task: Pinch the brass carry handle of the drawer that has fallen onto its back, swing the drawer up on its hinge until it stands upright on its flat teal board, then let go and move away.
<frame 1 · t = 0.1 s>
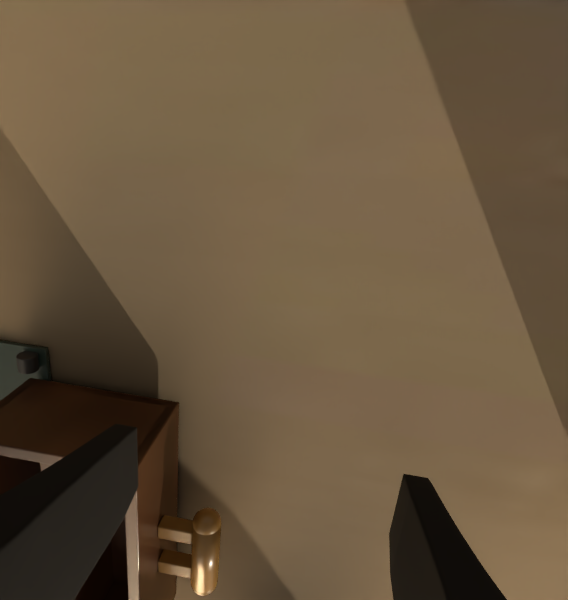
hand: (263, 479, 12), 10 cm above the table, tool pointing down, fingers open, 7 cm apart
flat teal board: (49, 473, 27), on the table
drawer: (113, 534, 24), point 3 cm above the table, hinge at 90.1°
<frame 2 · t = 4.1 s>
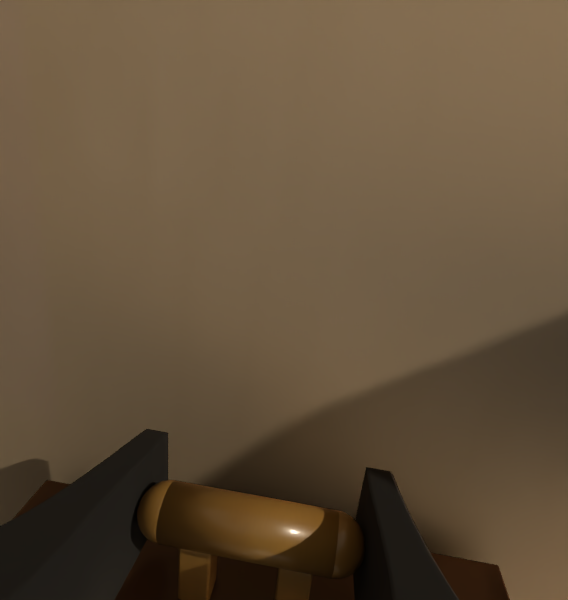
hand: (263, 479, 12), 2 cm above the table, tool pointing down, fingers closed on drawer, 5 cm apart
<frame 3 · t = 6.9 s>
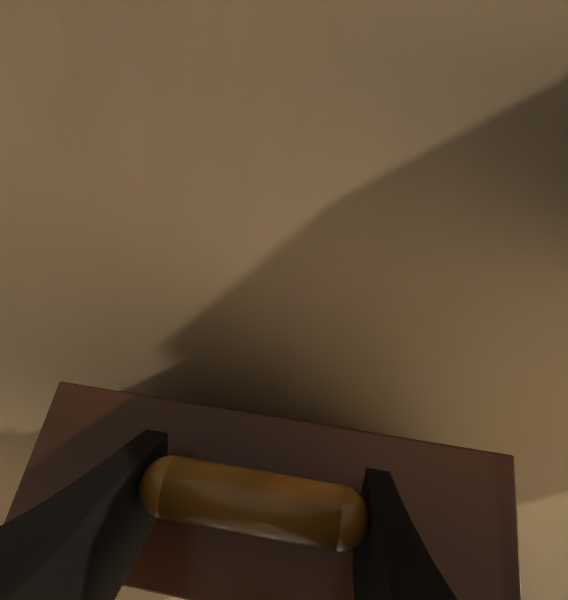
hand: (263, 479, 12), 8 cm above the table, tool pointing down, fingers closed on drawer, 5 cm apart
drawer: (265, 508, 15), point 6 cm above the table, hinge at 47.0°, touching gripper
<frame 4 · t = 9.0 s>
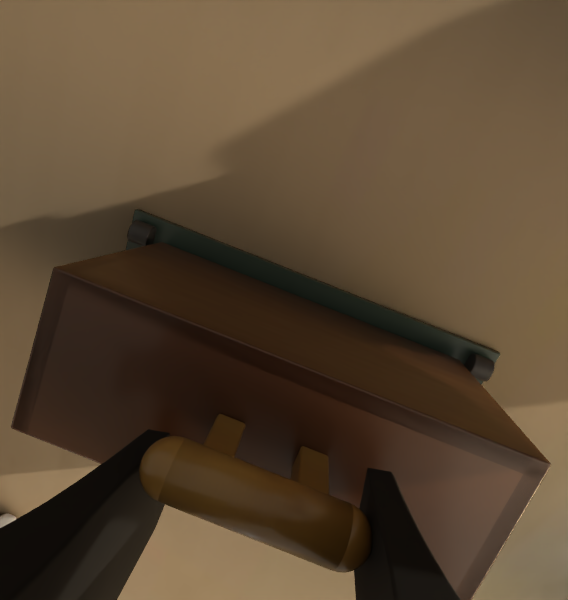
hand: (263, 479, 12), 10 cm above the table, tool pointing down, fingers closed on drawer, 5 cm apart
flat teal board: (311, 295, 20), on the table
drawer: (277, 405, 15), point 7 cm above the table, hinge at 9.3°, touching gripper
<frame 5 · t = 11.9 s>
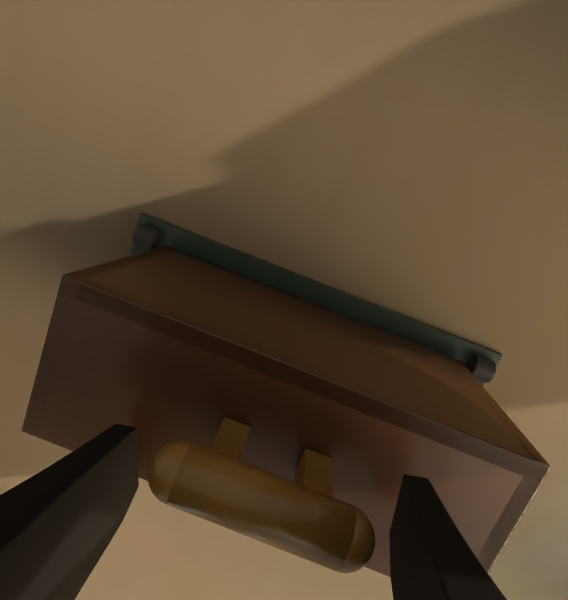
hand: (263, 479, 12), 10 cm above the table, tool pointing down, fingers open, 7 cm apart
flat teal board: (314, 298, 21), on the table
drawer: (281, 407, 15), point 7 cm above the table, hinge at 8.8°
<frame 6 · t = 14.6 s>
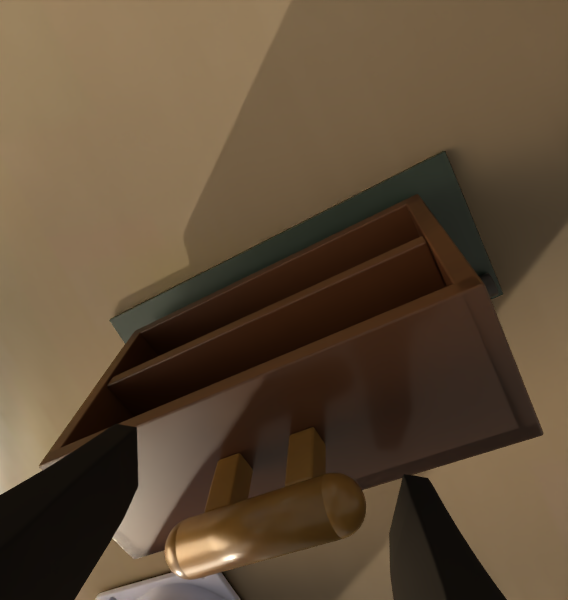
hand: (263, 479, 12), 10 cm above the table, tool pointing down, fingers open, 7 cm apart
flat teal board: (315, 350, 22), on the table
drawer: (278, 395, 15), point 7 cm above the table, hinge at 7.7°
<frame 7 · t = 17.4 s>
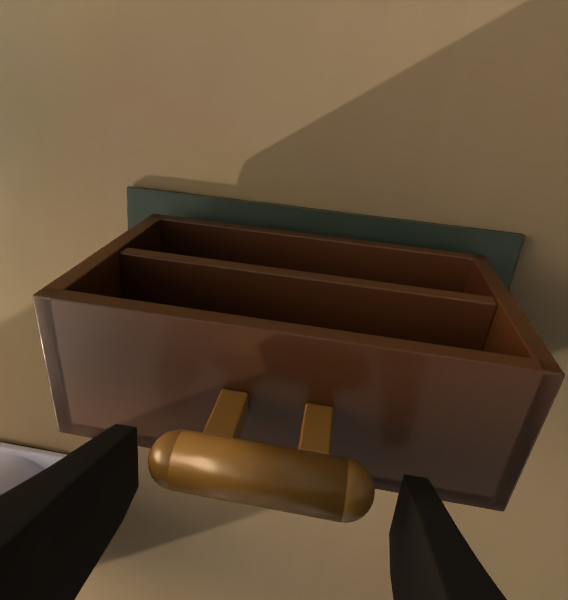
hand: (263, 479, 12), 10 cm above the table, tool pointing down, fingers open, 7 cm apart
flat teal board: (302, 329, 22), on the table
drawer: (289, 357, 15), point 6 cm above the table, hinge at 6.1°
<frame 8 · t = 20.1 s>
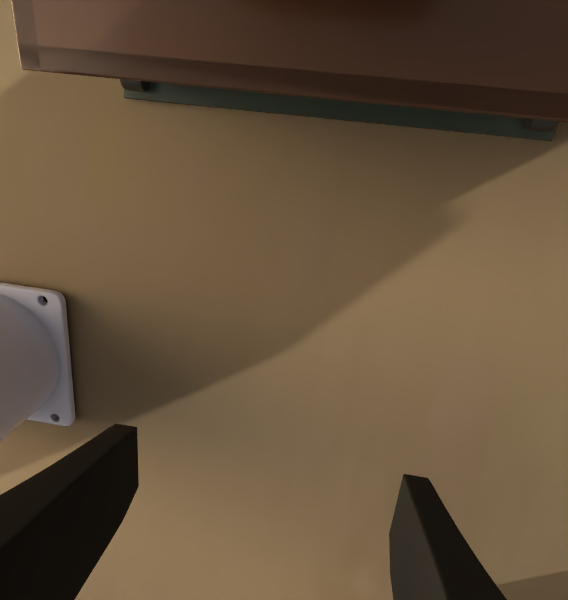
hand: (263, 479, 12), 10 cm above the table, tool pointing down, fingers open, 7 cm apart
flat teal board: (330, 97, 18), on the table
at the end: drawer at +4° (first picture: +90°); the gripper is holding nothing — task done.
